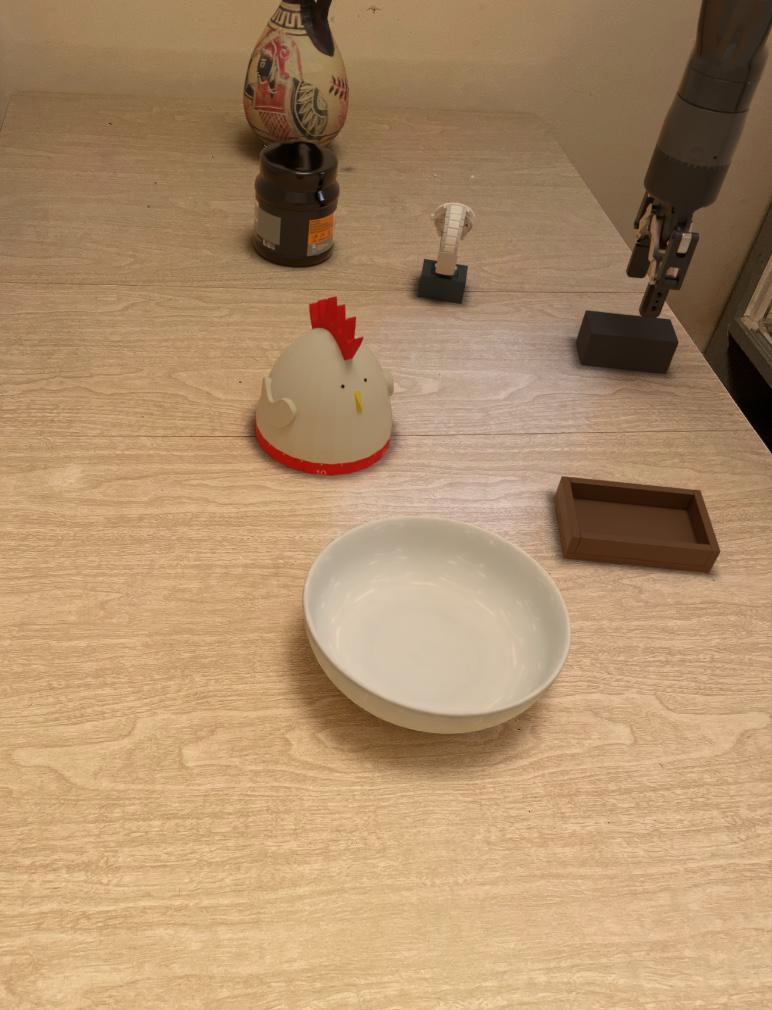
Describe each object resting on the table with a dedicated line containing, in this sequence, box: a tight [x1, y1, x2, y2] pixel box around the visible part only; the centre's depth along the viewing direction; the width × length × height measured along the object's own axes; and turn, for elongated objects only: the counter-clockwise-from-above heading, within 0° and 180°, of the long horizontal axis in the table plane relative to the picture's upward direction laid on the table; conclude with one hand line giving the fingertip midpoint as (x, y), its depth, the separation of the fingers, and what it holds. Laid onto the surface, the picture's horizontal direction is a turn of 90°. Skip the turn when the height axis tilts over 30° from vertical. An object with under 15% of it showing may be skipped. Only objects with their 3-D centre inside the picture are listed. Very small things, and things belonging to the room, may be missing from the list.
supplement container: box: [252, 141, 341, 268], centre depth 120 cm, size 10×10×12 cm
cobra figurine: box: [416, 202, 476, 305], centre depth 116 cm, size 6×8×11 cm
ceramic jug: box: [242, 0, 350, 149], centre depth 134 cm, size 17×15×30 cm
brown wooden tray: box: [553, 475, 721, 574], centre depth 91 cm, size 14×9×3 cm, turn 87°
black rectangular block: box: [575, 309, 679, 375], centre depth 112 cm, size 10×5×4 cm, turn 87°
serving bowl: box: [301, 514, 573, 735], centre depth 77 cm, size 21×21×7 cm
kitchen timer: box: [254, 295, 395, 476], centre depth 93 cm, size 14×14×15 cm
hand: (641, 295), depth 107 cm, fingers open, 8 cm apart
